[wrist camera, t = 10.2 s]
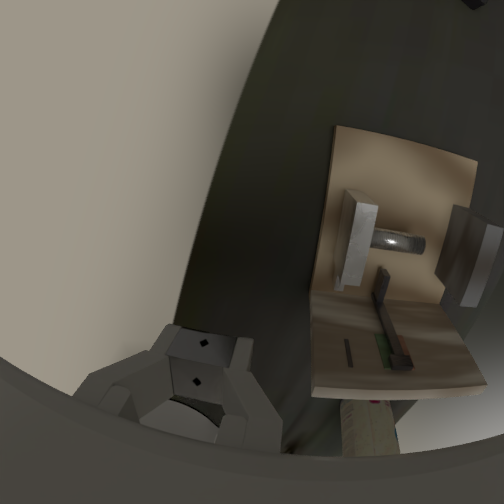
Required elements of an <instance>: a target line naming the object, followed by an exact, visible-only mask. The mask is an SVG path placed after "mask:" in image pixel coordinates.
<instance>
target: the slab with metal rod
mask: <svg viewBox="0 0 504 504" xmlns="http://www.w3.org/2000/svg"><path fill="white" fill-rule="evenodd" d="M377 211H378V205H377V204H376V203H375V202H374V201H373V200H372V199H371V198H370V197H368V196H367V195H366V194H365V193H364V192H363V191H358V190H352V189H346V188H345V194H344V200H343V206H342V212H341V218H340V223H339V229H338V234H337V240H336V245H335V250H334V255H333V258H334V262H335V265H336V266H335V271H334V276H333V280H332V283H333V288H334V290H336V291H343V289H344V285H352V286H360V284H361V280H362V276H363V272H364V268H365V264H366V260H367V256H368V252H369V248H375V249H382V250H389V251H395V252H402V253H408V254H415V255H422V254H423V253H424V250H425V246H426V240H425V237H424V236H422V235H417V234H411V233H405V232H400V231H394V230H388V229H382V228H376V227H374V225H375V221H376V216H377Z"/></svg>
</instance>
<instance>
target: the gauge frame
mask: <svg viewBox="0 0 504 504" xmlns="http://www.w3.org/2000/svg"><path fill="white" fill-rule="evenodd" d="M477 163H478V162H477V161H474V160H471V159H468V158H465V157H462V156H459V155H456V154H453V153H450V152H447V151H444V150H440V149H437V148H434V147H430V146H427V145H423V144H420V143H416V142H412V141H408V140H404V139H400V138H396V137H392V136H388V135H383V134H379V133H374V132H370V131H365V130H360V129H354V128H349V127H343V126H337V125H336V126H334V134H333V143H332V152H331V160H330V167H329V175H328V182H327V189H326V196H325V203H324V210H323V216H322V222H321V228H320V234H319V240H318V246H317V252H316V257H315V263H314V268H313V273H312V279H311V284H310V289H309V301H310V328H311V397H322V398H337V399H358V400H414V399H434V398H447V397H459V396H468V395H476V394H481V393H482V392H483V391H484V389H485V388H486V386H487V383H486V381H485V379H484V377H483V375H482V373H481V372H480V370H479V368H478V366H477V364H476V363H475V361H474V359H473V357H472V356H471V354H470V352H469V351H468V349H467V347H466V345H465V344H464V342H463V340H462V339H461V337H460V335H459V334H458V332H457V331H456V329H455V327H454V326H453V324H452V323H451V321H450V320H449V318H448V317H447V315H446V314H445V312H444V311H443V309H442V308H441V306H440V305H439V303H440V300H441V298H442V295H443V293H444V290H445V287H446V289H447V290H448V291H449V293H450V294H451V295H452V296H453V298H454V299H455V300H456V302H457V303H458V304H459V306H467V307H477V305H478V302H479V300H480V297H481V295H482V293H483V290H484V288H485V285H486V282H487V280H488V277H489V274H490V271H491V269H492V266H493V263H494V260H495V257H496V254H497V251H498V247H499V244H500V241H501V237H502V234H503V230H504V228H502V227H501V226H499V225H497V224H496V223H494V222H492V221H491V220H489V219H487V218H486V217H484V216H482V215H480V214H479V213H477V212H475V211H473V210H471V209H470V208H469V206H470V201H471V197H472V192H473V187H474V181H475V176H476V170H477ZM345 188H346V189H352V190H358V191H363V192H364V193H365V194H366V195H367V196H368V197H370V198H371V199H372V200H373V201H374V202H375V203H376V204H377V205H378V211H377V216H376V221H375V225H374V227H376V228H382V229H388V230H394V231H400V232H405V233H411V234H417V235H422V236H424V237H425V240H426V246H425V250H424V253H423V254H422V255H415V254H408V253H402V252H395V251H389V250H382V249H375V248H369V252H368V256H367V260H366V264H365V268H364V272H363V276H362V280H361V284H360V286H352V285H344V289H343V291H336V290H334V288H333V283H332V280H333V276H334V271H335V266H336V265H335V262H334V258H333V255H334V250H335V245H336V240H337V234H338V229H339V223H340V218H341V212H342V206H343V200H344V194H345ZM380 268H382V269H387V271H388V273H389V274H390V276H391V278H390V281H389V284H388V288H387V291H386V294H385V297H384V300H383V302H384V305H385V307H386V309H387V312H388V314H389V317H390V319H391V321H392V324H393V326H394V329H395V331H396V334H397V336H398V339H399V341H400V344H401V347H402V349H403V352H404V355H410V358H411V361H412V363H413V366H414V367H413V369H412V371H401V370H391V367H390V364H389V360H388V357H389V355H390V354H391V351H390V348H389V345H388V342H387V339H386V337H385V334H384V331H383V328H382V325H381V322H380V320H379V317H378V314H377V311H376V309H375V306H374V303H373V301H372V298H371V293H372V292H374V289H375V286H376V282H377V279H378V275H379V272H380Z"/></svg>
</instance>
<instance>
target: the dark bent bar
mask: <svg viewBox="0 0 504 504" xmlns="http://www.w3.org/2000/svg"><path fill="white" fill-rule="evenodd" d="M390 278H391V276H390V274H389V273H388V271H387V269H382V268H380V272H379V275H378V279H377V282H376V286H375V289H374V292H372V293H371V298H372V301H373V303H374V306H375V309H376V311H377V314H378V317H379V320H380V322H381V325H382V328H383V331H384V334H385V337H386V339H387V342H388V345H389V348H390V351H391V354H390V355H389V357H388V360H389V364H390V367H391V370H401V371H412V369H413V367H414V366H413V363H412V361H411V358H410V355H404V352H403V349H402V347H401V344H400V341H399V339H398V336H397V334H396V331H395V329H394V326H393V324H392V321H391V319H390V317H389V314H388V312H387V309H386V307H385V305H384V302H383V300H384V297H385V294H386V291H387V288H388V284H389V281H390Z"/></svg>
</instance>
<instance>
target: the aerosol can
mask: <svg viewBox="0 0 504 504" xmlns="http://www.w3.org/2000/svg"><path fill="white" fill-rule="evenodd" d="M340 416H341V431H342V449H343V457H361V456H382V455H395V454H400V449H399V444H398V438H397V433H396V428H395V423H394V419H393V414H392V409H391V405H390V401H389V400H358V399H341V401H340Z"/></svg>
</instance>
